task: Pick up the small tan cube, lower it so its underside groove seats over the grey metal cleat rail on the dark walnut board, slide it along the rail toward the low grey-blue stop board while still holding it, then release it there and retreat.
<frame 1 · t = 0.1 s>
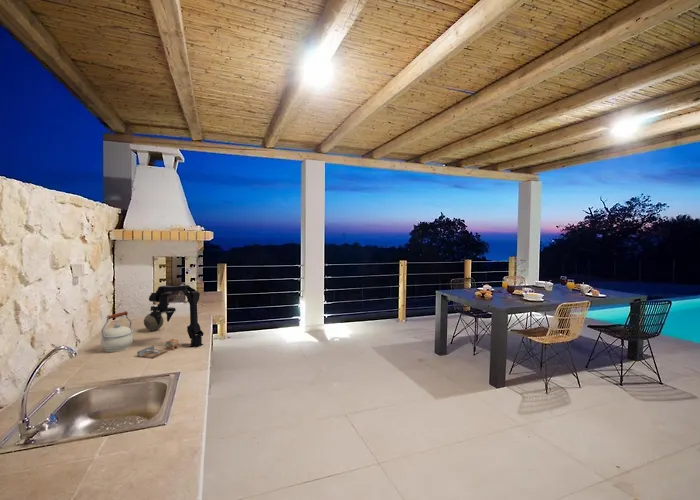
hand: (163, 323, 237), 15 cm above the countertop, fingers open, 9 cm apart
cantaloupe: (153, 331, 266), on the countertop
kettle: (119, 348, 223), on the countertop
tan cube: (172, 348, 224), on the countertop
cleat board: (152, 354, 213), on the countertop
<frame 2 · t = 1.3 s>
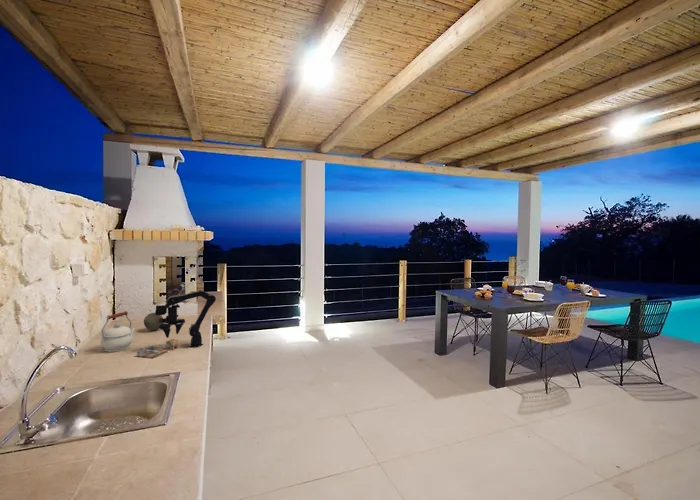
hand: (172, 335, 224), 9 cm above the countertop, fingers open, 9 cm apart
nothing on the countertop moved.
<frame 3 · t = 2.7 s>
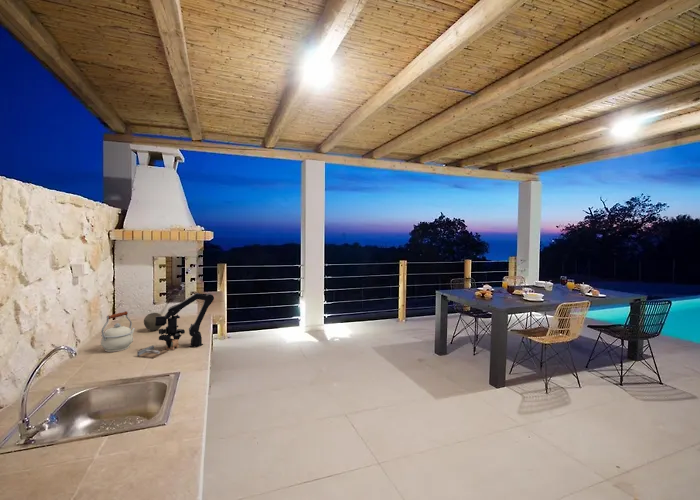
hand: (172, 346, 224), 2 cm above the countertop, fingers closed on tan cube, 5 cm apart
tan cube: (172, 348, 224), on the countertop, touching gripper
everything else where it was.
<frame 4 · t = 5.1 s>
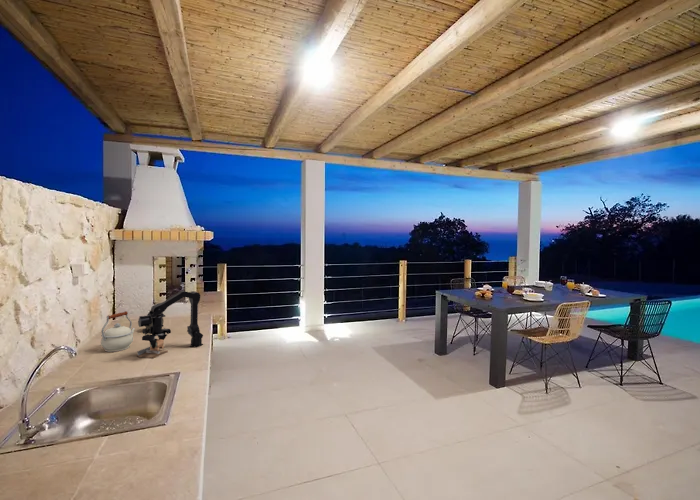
hand: (156, 347, 212), 5 cm above the countertop, fingers closed on tan cube, 5 cm apart
tan cube: (156, 349, 212), point 4 cm above the countertop, touching gripper
everything else where it was.
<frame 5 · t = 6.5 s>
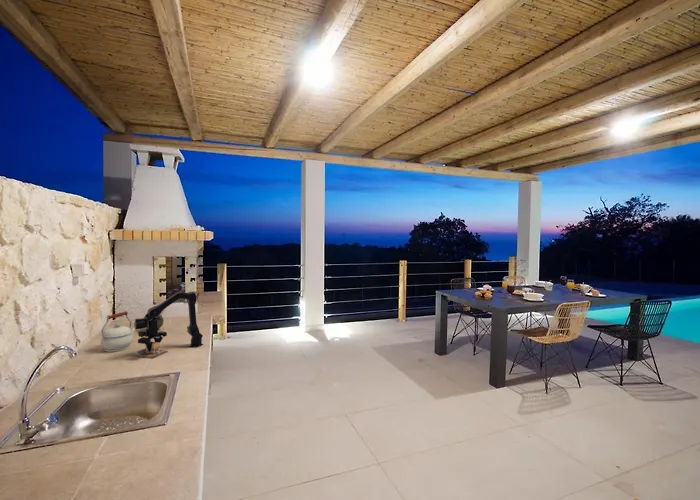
hand: (152, 349, 212), 3 cm above the countertop, fingers closed on tan cube, 5 cm apart
tan cube: (152, 352, 213), point 2 cm above the countertop, touching gripper
everything else where it was.
when the fingers open (3 cm above the countertop, at t = 7.6 s): tan cube stays where it is, resting on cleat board.
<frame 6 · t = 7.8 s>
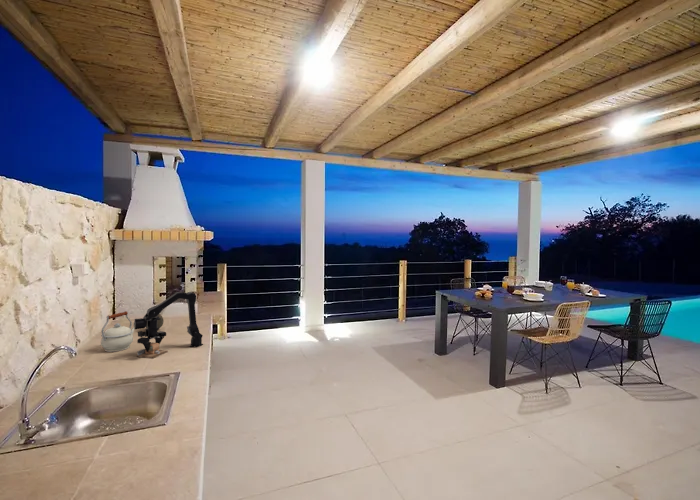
hand: (152, 349, 213), 3 cm above the countertop, fingers open, 7 cm apart
tan cube: (152, 352, 213), point 1 cm above the countertop, touching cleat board
everything else where it was.
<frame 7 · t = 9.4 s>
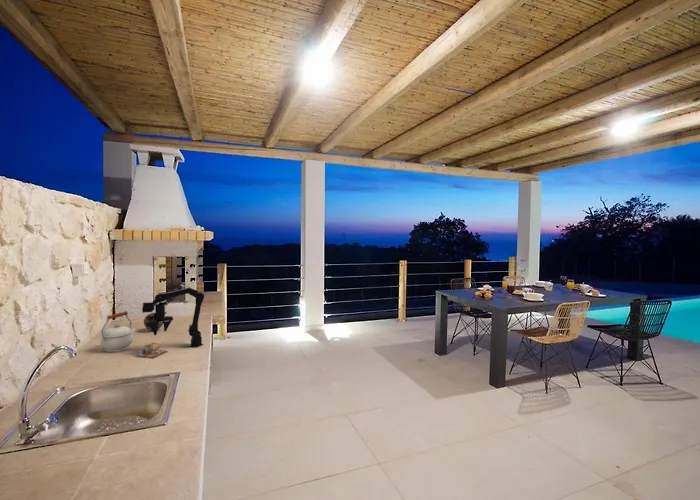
hand: (160, 333, 222), 12 cm above the countertop, fingers open, 9 cm apart
nothing on the countertop moved.
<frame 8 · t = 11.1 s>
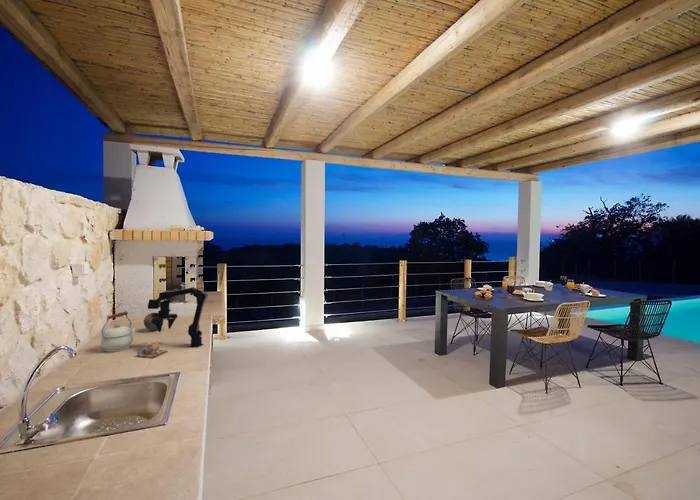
hand: (164, 330, 228), 12 cm above the countertop, fingers open, 9 cm apart
nothing on the countertop moved.
at the end: tan cube 0.5 cm from the target spot, point 1.0 cm above the countertop; tan cube tilted 0°; the gripper is holding nothing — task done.
